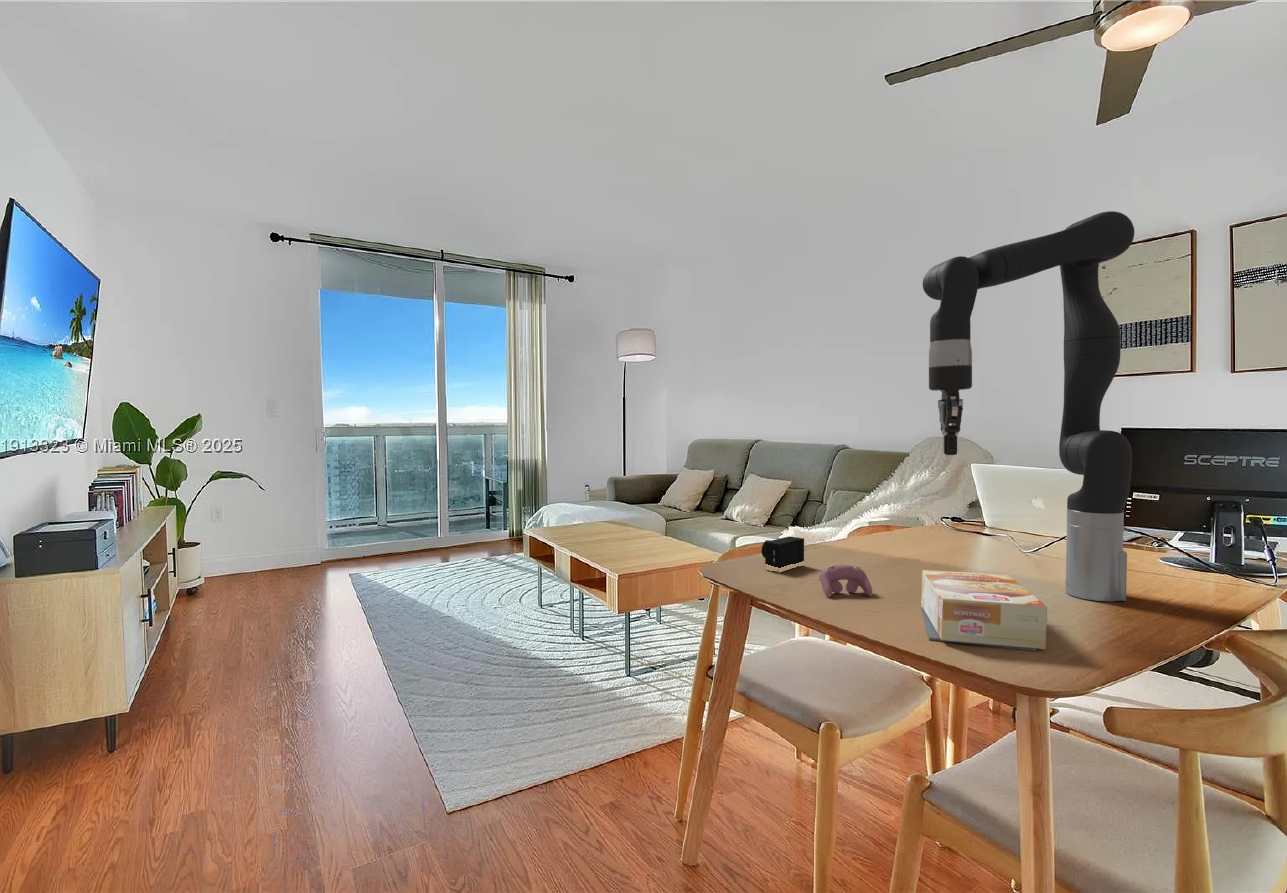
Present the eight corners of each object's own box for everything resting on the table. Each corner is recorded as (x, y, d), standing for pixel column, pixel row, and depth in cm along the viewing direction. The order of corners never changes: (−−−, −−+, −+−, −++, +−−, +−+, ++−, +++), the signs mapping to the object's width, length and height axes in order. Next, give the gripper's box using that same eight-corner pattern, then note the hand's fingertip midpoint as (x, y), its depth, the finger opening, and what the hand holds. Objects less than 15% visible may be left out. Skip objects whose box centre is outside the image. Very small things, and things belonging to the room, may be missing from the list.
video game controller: (867, 599, 129) (861, 566, 132) (875, 595, 125) (869, 561, 128) (820, 601, 129) (815, 567, 132) (827, 596, 125) (821, 562, 128)
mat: (1012, 617, 112) (1012, 614, 112) (1036, 650, 96) (1036, 648, 96) (921, 609, 117) (921, 607, 117) (929, 639, 101) (929, 637, 101)
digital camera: (785, 562, 157) (785, 535, 157) (804, 566, 153) (804, 537, 153) (760, 569, 150) (760, 540, 150) (779, 573, 146) (779, 543, 146)
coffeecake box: (1009, 573, 114) (1049, 605, 95) (1008, 612, 114) (1047, 651, 95) (921, 568, 117) (942, 597, 99) (920, 605, 118) (940, 641, 99)
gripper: (978, 361, 113) (978, 456, 113) (965, 366, 125) (966, 452, 126) (932, 363, 115) (933, 456, 116) (925, 368, 128) (925, 453, 128)
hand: (950, 454), depth 121 cm, fingers closed
